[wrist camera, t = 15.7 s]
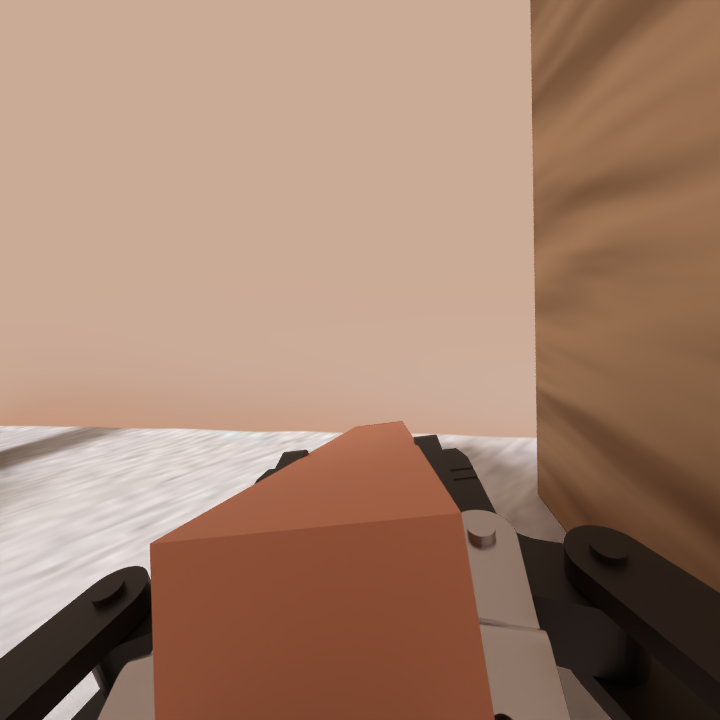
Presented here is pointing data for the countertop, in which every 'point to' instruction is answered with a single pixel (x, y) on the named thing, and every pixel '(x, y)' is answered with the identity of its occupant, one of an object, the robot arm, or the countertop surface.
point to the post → (629, 270)
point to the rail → (322, 595)
